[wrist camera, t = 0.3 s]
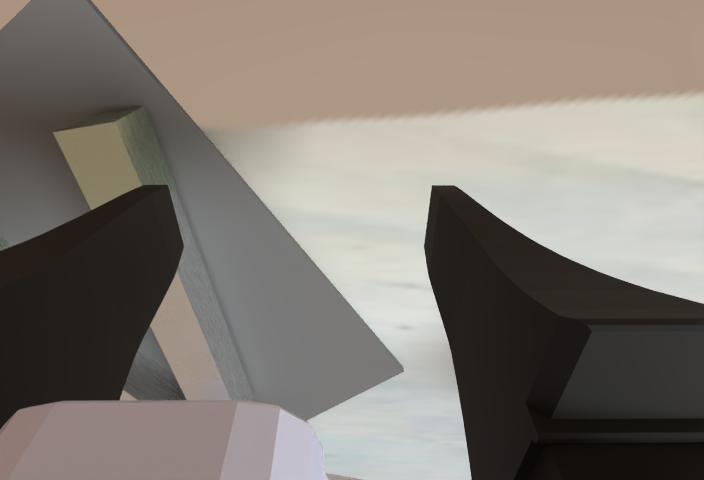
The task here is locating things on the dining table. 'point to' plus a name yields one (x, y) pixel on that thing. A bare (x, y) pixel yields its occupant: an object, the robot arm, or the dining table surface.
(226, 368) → the hinged arm
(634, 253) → the dining table surface
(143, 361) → the fixed arm
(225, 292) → the mat
